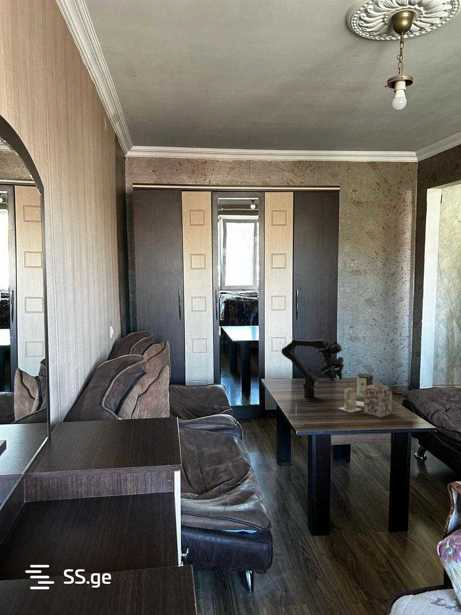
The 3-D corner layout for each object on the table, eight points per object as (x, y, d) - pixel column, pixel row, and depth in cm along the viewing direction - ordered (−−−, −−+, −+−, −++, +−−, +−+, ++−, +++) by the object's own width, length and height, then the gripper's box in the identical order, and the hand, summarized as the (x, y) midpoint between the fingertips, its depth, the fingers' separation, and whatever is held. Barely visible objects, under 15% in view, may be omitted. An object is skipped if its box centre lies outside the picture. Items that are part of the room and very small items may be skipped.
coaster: (351, 405, 282) (351, 404, 282) (356, 401, 290) (356, 401, 290) (366, 407, 277) (366, 406, 277) (370, 403, 285) (370, 403, 285)
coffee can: (372, 394, 308) (372, 373, 307) (373, 398, 298) (374, 377, 297) (356, 393, 310) (356, 373, 309) (357, 397, 300) (357, 376, 299)
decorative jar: (363, 412, 267) (363, 382, 265) (374, 409, 274) (375, 379, 272) (380, 417, 257) (381, 386, 256) (392, 413, 264) (393, 383, 263)
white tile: (338, 408, 275) (338, 408, 275) (349, 406, 280) (349, 405, 280) (351, 412, 266) (351, 412, 266) (362, 409, 272) (362, 409, 272)
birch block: (344, 408, 274) (344, 389, 273) (349, 407, 277) (350, 387, 276) (350, 410, 270) (351, 390, 269) (356, 409, 273) (356, 389, 272)
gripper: (329, 353, 281) (339, 377, 276) (345, 351, 294) (355, 374, 289) (315, 360, 288) (325, 383, 283) (332, 358, 301) (341, 380, 296)
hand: (337, 380), depth 287 cm, fingers open, 9 cm apart
